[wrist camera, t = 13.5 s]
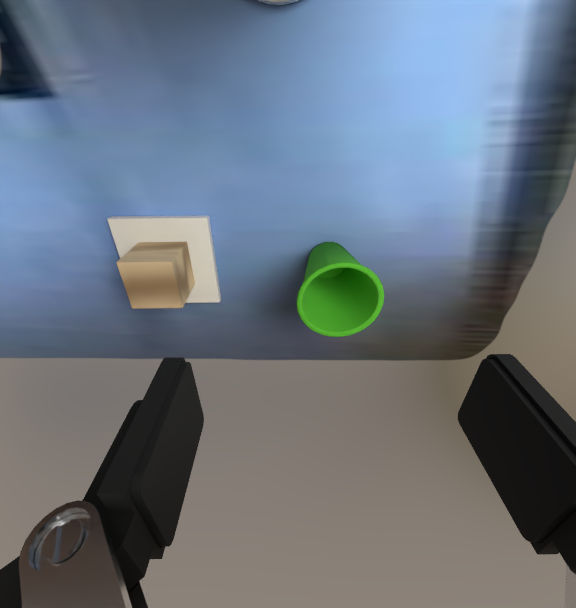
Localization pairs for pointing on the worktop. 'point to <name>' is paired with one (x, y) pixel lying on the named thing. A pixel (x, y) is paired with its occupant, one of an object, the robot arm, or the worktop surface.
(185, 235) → the panel
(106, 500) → the robot arm
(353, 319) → the cup
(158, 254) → the block
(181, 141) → the worktop surface
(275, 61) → the worktop surface
